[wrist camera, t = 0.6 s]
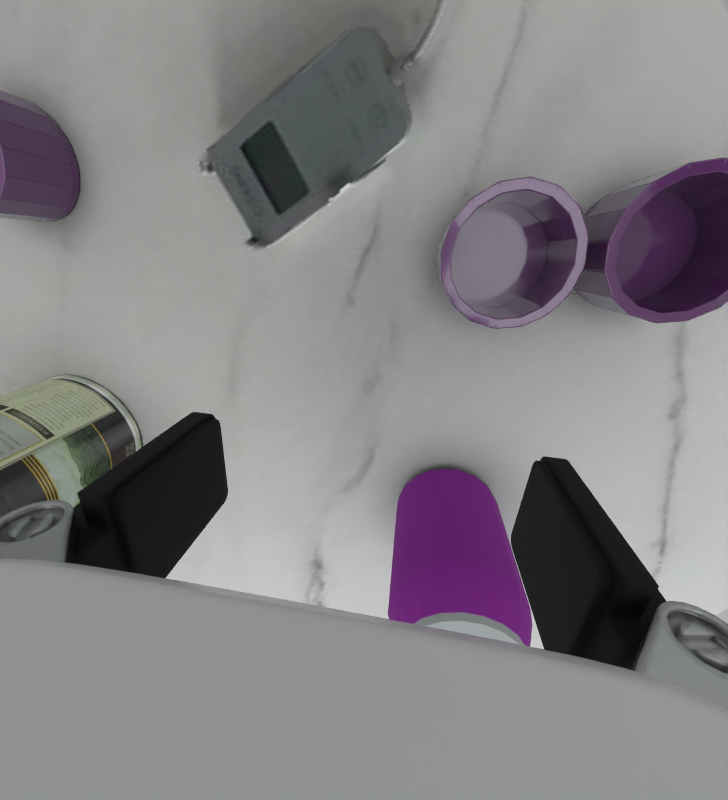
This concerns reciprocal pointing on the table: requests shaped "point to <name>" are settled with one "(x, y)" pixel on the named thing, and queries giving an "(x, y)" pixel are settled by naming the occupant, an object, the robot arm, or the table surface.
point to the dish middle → (513, 252)
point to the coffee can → (60, 440)
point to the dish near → (661, 245)
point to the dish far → (34, 164)
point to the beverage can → (456, 561)
